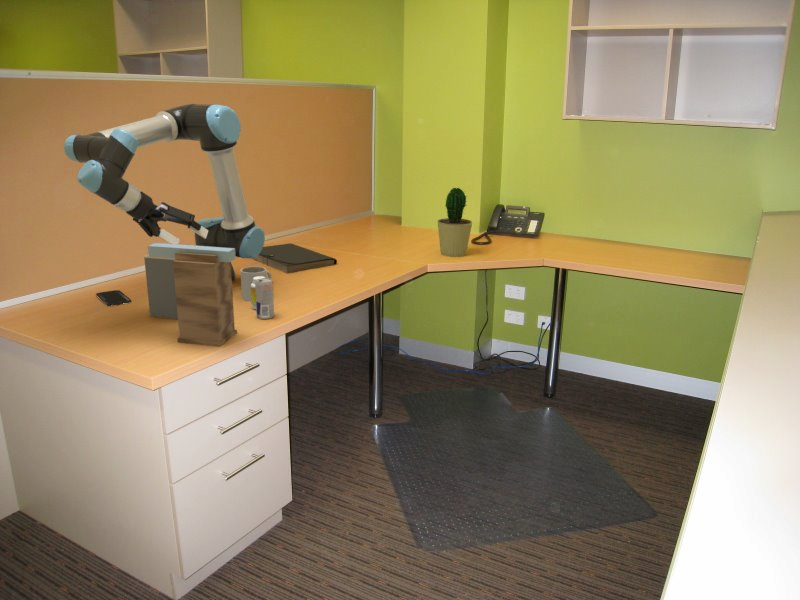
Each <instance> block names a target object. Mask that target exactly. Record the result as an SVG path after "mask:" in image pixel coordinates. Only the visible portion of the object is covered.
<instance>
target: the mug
mask: <svg viewBox="0 0 800 600" xmlns="http://www.w3.org/2000/svg"><path fill="white" fill-rule="evenodd" d="M258 276H262V277H265V278H269V279H272V280H273V277H272V274H271V272H270V271H269V270H267V268H266V267H264V266H246V267H243V268H241V269H240V285H241V299H242V301H244V300H245V301H244V302H249V301H250V302H251V303H252V300H251V284H252V283H253V278H254V277H258ZM250 302H249V303H250Z"/></svg>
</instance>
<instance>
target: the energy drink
mask: <svg viewBox="0 0 800 600" xmlns="http://www.w3.org/2000/svg"><path fill="white" fill-rule="evenodd" d="M273 283H274V281H273V278H272V279H269V278H268V277H267V278H261V279H257V280H256V282H255V288H256V309H257V310H256V309H255V310H256V317H257V318H258V319H259V320H270V319H273V318H274V317H275V307H274V306H275V304H274V285H273ZM272 317H273V318H272Z"/></svg>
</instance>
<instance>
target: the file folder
mask: <svg viewBox="0 0 800 600" xmlns="http://www.w3.org/2000/svg"><path fill="white" fill-rule="evenodd" d="M250 260H254V261H256V262H258V263H262V264H263V265H266V266H268V267H272V268H275V269H278V270H279V271H282V272H283V273H286V274H291V273H292V274H293V273H297V272H302V271H303V272H304V271H308V270H309V271H310V270H314V269H318V268H319V269H320V268H324V267H329V266H335V265H337V263H338V260H337V259H336V258H334V257H333V256H332V257H331V256H328V255H326V254H322V253H320V252H317V251H316V250H315V251H314V250H311V249H309V248H306V247H303V246H300V245H297V244H294V243H282V244H275V245H267V246H263V248H262V250H261V252H260V253H259V255H258V256H256V257H255V258H251V259H250Z"/></svg>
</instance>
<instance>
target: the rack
mask: <svg viewBox="0 0 800 600" xmlns="http://www.w3.org/2000/svg"><path fill="white" fill-rule="evenodd" d="M231 264H232V261H231V262H218V257H217V255H208V254H194V253H181V252H176V253H175V261H173V267H174V279H175V290H176V301H177V313H178V319H177V322H178V333H179V336H178V338H177V341H176V342H177V343H182V344H192V345H193V344H194V345H203V346H212V347H214V346H215V347H222V346H223V345H224V344H226V343H227V342H228V341H229V340H230V339H231V338H233V337H234V336H235V335H236V334H238V329H236V327H235V313H234V298H233V297H234V296H233V295H234V294H233V282H232V276H231Z"/></svg>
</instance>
